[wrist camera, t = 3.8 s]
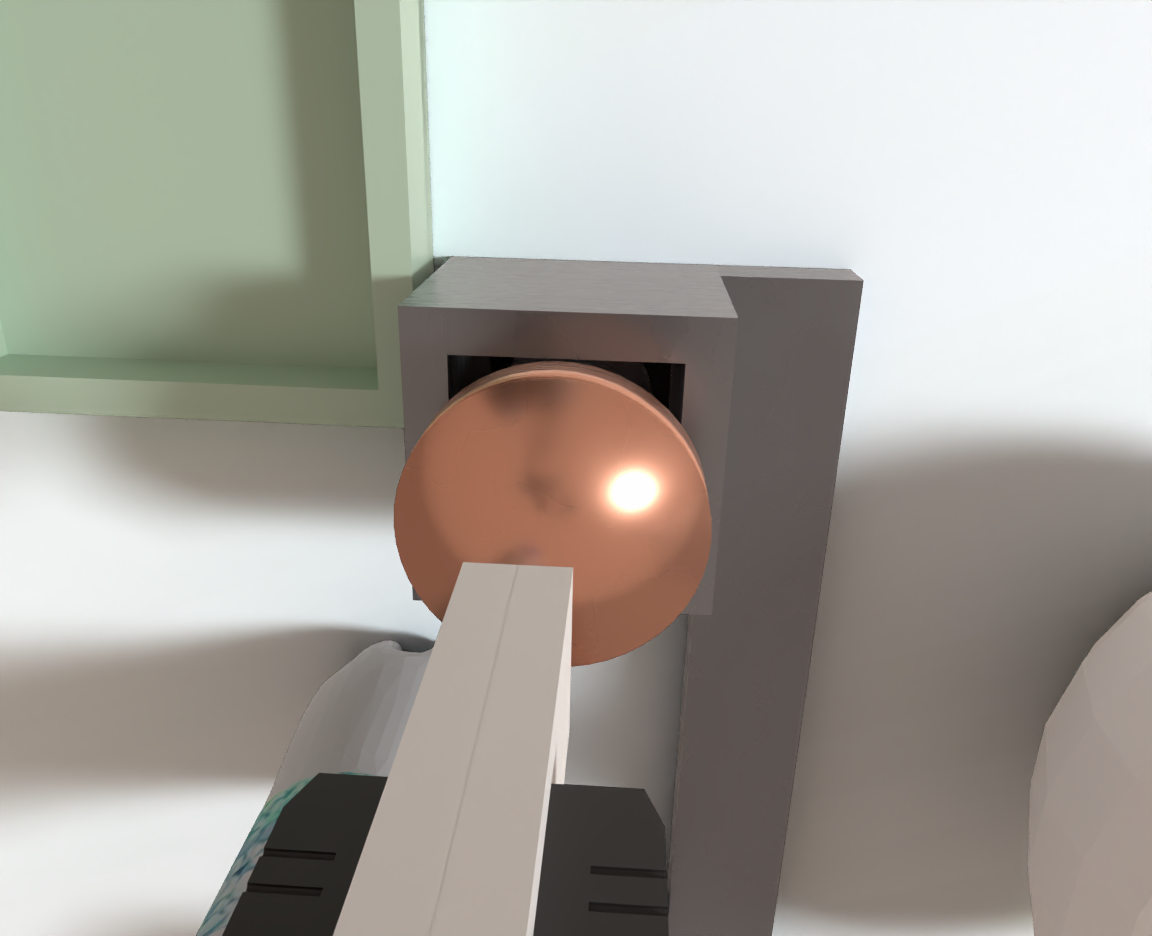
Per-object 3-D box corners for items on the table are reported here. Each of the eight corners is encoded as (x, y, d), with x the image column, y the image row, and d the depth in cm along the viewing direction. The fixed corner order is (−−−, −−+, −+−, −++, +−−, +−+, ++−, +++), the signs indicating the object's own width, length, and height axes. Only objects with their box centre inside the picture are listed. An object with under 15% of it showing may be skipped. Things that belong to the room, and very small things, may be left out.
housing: (451, 256, 25) (397, 305, 19) (850, 269, 24) (913, 324, 19) (473, 1015, 36) (444, 1185, 30) (747, 1035, 35) (767, 1212, 30)
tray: (-126, -148, 22) (-216, -174, 20) (418, -141, 21) (391, -169, 19) (-6, 380, 27) (-66, 408, 25) (438, 398, 26) (419, 428, 24)
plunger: (464, 282, 24) (385, 373, 16) (697, 290, 24) (724, 386, 16) (470, 494, 26) (401, 658, 19) (681, 503, 26) (699, 675, 18)
